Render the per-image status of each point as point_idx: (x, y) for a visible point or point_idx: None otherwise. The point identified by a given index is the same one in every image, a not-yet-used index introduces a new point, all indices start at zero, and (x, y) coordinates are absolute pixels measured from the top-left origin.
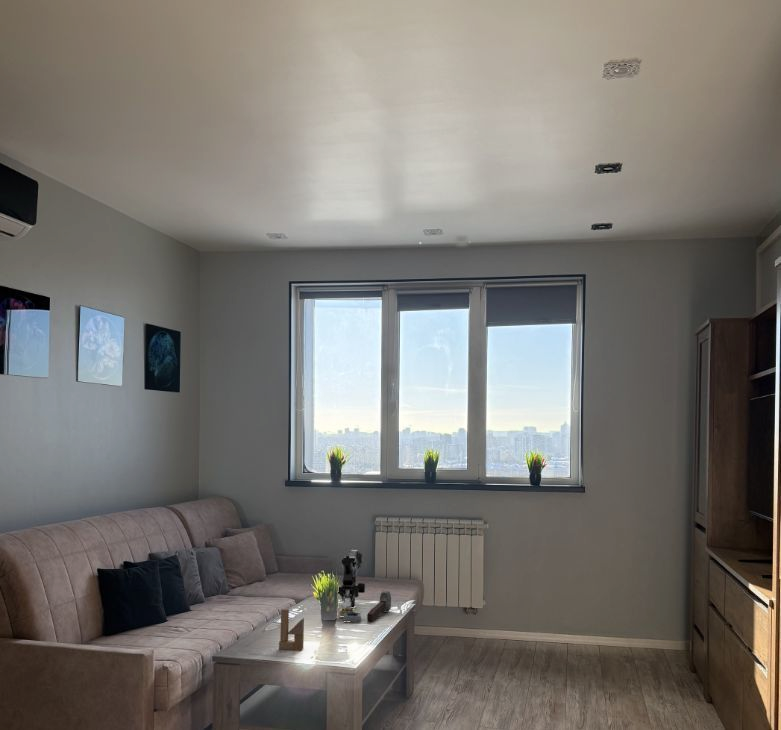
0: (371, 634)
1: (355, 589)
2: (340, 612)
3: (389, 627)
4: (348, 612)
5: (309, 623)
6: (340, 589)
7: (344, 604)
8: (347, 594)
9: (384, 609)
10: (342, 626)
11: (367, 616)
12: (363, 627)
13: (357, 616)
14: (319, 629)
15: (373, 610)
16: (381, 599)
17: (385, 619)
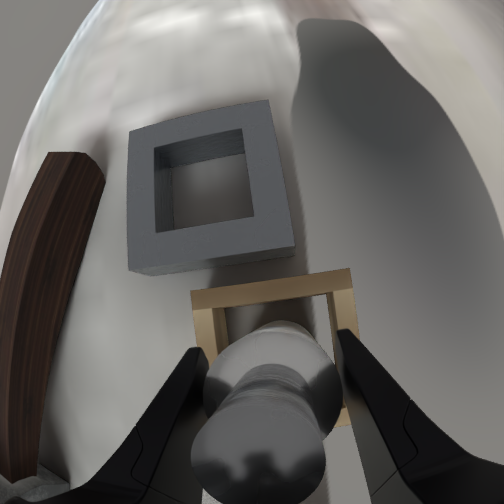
0: (120, 6)
1: (66, 498)
2: (339, 270)
3: (32, 113)
4: (254, 282)
5: (466, 90)
6: (475, 476)
7: (313, 338)
8: (260, 379)
9: (44, 471)
10: (258, 47)
11: (86, 155)
12: (138, 63)
13: (154, 126)
14: (362, 2)
15: (27, 220)
16: (9, 488)
17: None
